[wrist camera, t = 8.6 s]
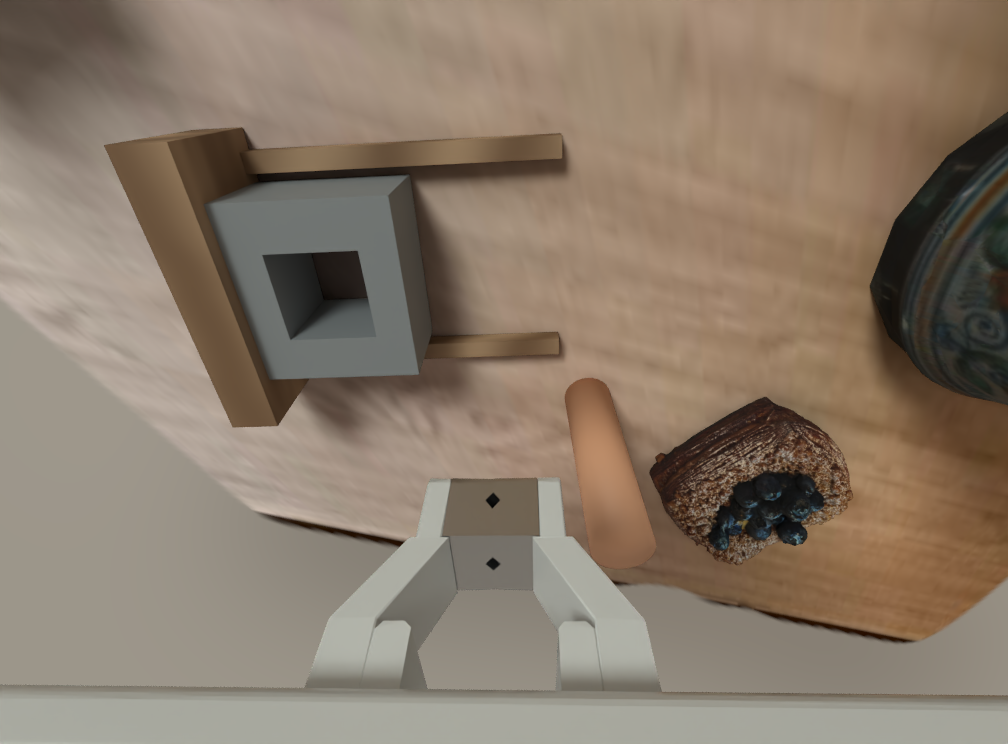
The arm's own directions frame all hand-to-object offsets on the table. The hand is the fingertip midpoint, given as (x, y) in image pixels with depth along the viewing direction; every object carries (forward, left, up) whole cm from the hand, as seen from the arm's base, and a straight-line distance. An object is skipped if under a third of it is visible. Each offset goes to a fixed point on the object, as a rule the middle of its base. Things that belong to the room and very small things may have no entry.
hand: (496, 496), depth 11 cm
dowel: (-5, +10, -18) cm, 21 cm away
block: (+9, 0, -18) cm, 20 cm away
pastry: (-17, +17, -19) cm, 30 cm away
